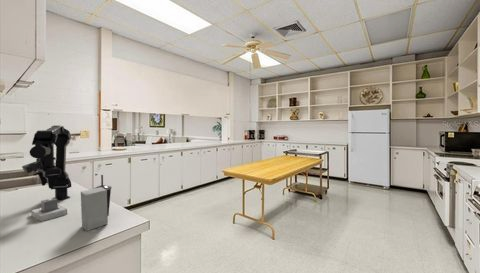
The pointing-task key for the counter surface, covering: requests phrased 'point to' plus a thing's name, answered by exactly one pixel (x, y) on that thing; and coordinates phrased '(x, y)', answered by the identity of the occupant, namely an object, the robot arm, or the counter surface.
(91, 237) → the counter surface
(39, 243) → the counter surface
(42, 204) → the plug
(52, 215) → the socket
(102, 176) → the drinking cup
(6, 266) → the counter surface
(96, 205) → the skincare box
